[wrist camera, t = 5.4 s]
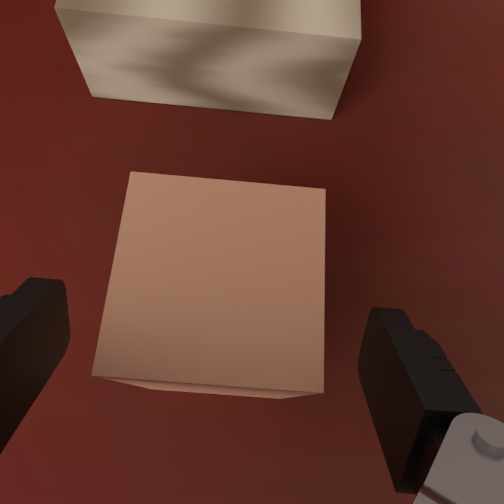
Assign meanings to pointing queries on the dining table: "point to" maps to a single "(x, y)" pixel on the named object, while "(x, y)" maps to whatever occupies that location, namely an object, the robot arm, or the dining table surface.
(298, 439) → the dining table surface
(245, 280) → the terracotta block
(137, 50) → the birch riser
